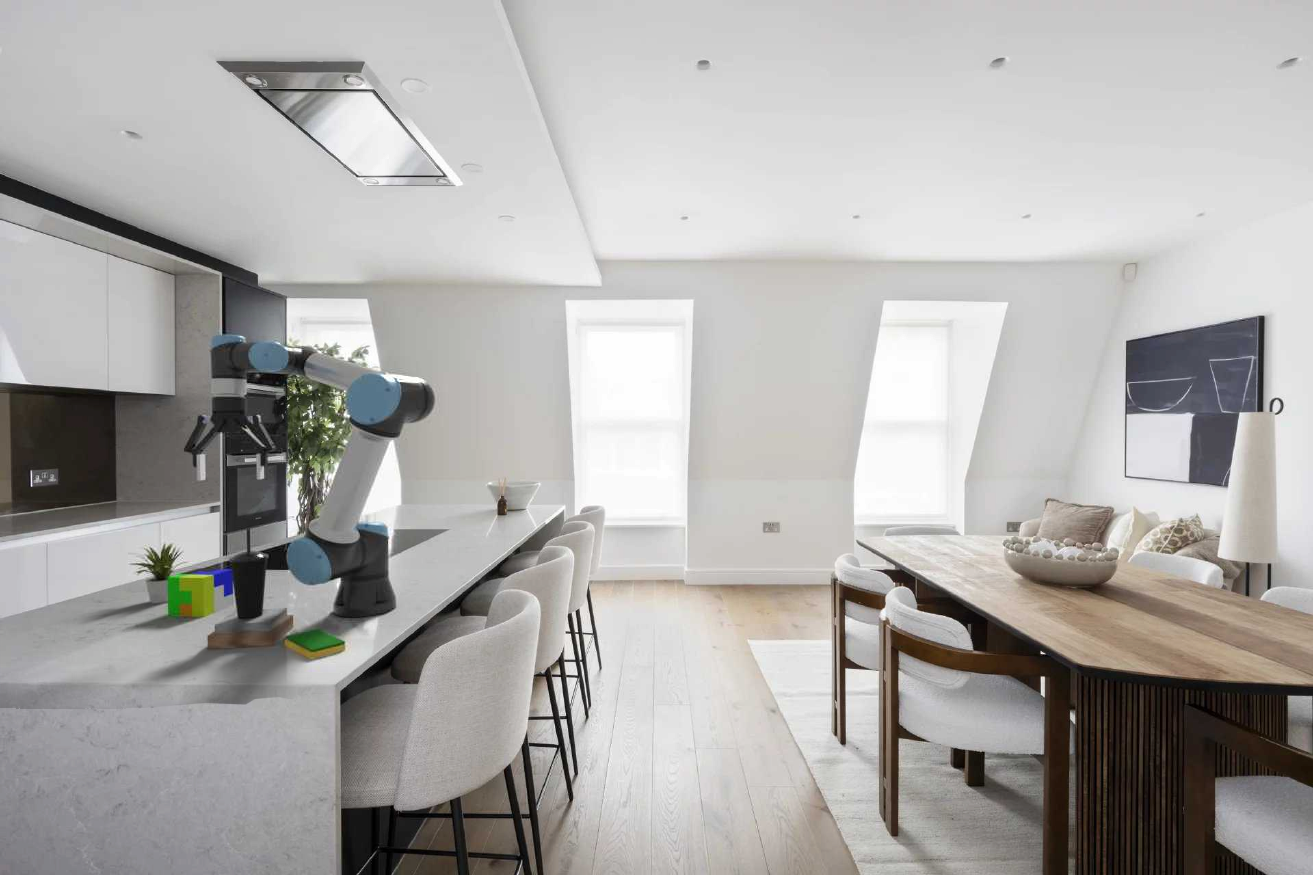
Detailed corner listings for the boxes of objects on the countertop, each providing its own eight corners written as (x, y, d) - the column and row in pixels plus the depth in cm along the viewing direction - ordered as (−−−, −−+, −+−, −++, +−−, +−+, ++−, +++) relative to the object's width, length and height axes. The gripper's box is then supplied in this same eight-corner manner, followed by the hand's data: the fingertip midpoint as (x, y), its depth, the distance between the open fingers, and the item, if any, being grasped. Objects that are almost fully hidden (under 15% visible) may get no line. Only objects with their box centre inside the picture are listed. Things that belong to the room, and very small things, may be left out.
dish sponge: (311, 661, 137) (311, 649, 137) (284, 646, 146) (284, 635, 146) (346, 652, 142) (345, 640, 142) (317, 638, 151) (317, 628, 151)
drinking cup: (241, 611, 154) (239, 526, 153) (275, 610, 155) (274, 526, 154) (222, 621, 146) (221, 532, 146) (259, 620, 147) (257, 531, 146)
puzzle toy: (233, 606, 177) (232, 569, 177) (204, 617, 167) (203, 577, 167) (199, 605, 178) (198, 568, 178) (168, 616, 168) (167, 577, 168)
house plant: (139, 596, 187) (137, 539, 187) (197, 591, 192) (196, 535, 192) (121, 609, 174) (120, 548, 173) (184, 603, 179) (183, 543, 179)
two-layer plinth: (293, 627, 158) (292, 606, 158) (273, 645, 146) (272, 622, 145) (233, 630, 156) (233, 609, 156) (207, 649, 143) (207, 626, 143)
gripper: (288, 397, 174) (289, 477, 174) (181, 396, 169) (183, 479, 169) (277, 395, 166) (279, 479, 167) (166, 395, 161) (168, 481, 162)
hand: (231, 479), depth 168 cm, fingers open, 13 cm apart
